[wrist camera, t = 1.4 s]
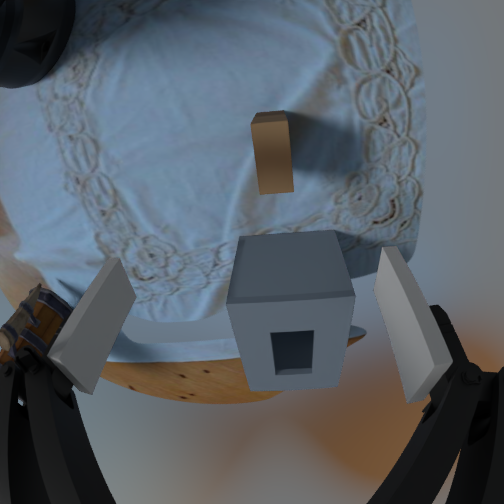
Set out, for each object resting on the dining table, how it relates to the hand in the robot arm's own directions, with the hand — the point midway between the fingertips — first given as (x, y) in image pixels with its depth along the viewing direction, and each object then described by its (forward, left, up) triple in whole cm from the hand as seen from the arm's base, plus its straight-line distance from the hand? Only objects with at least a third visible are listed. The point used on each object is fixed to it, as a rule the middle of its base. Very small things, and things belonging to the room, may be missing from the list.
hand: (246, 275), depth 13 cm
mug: (+20, -43, -18) cm, 51 cm away
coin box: (+16, +2, -18) cm, 24 cm away
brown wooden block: (-3, +2, -18) cm, 18 cm away
